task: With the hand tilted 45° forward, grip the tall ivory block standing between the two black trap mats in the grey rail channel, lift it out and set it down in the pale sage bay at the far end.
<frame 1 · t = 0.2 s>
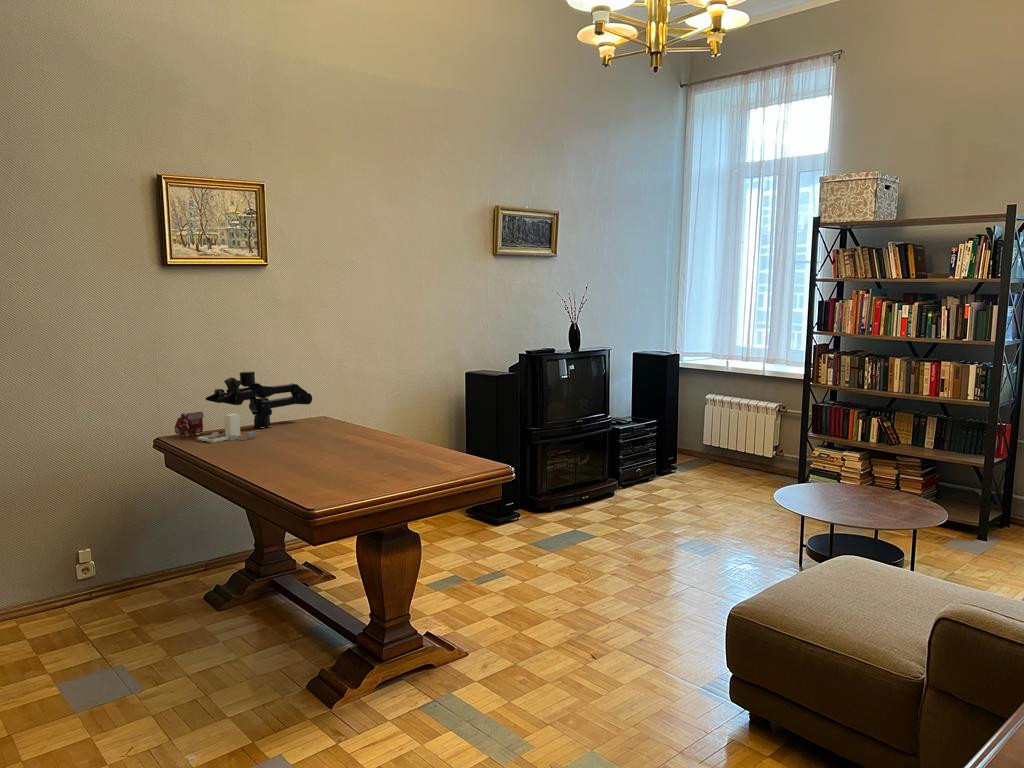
hand: (211, 399, 337), 17 cm above the table, tool horizontal, fingers open, 9 cm apart
toy fire truck: (190, 435, 342), on the table
ivory block: (233, 436, 335), on the table
channel: (232, 436, 335), on the table
sage bay: (213, 440, 328), on the table
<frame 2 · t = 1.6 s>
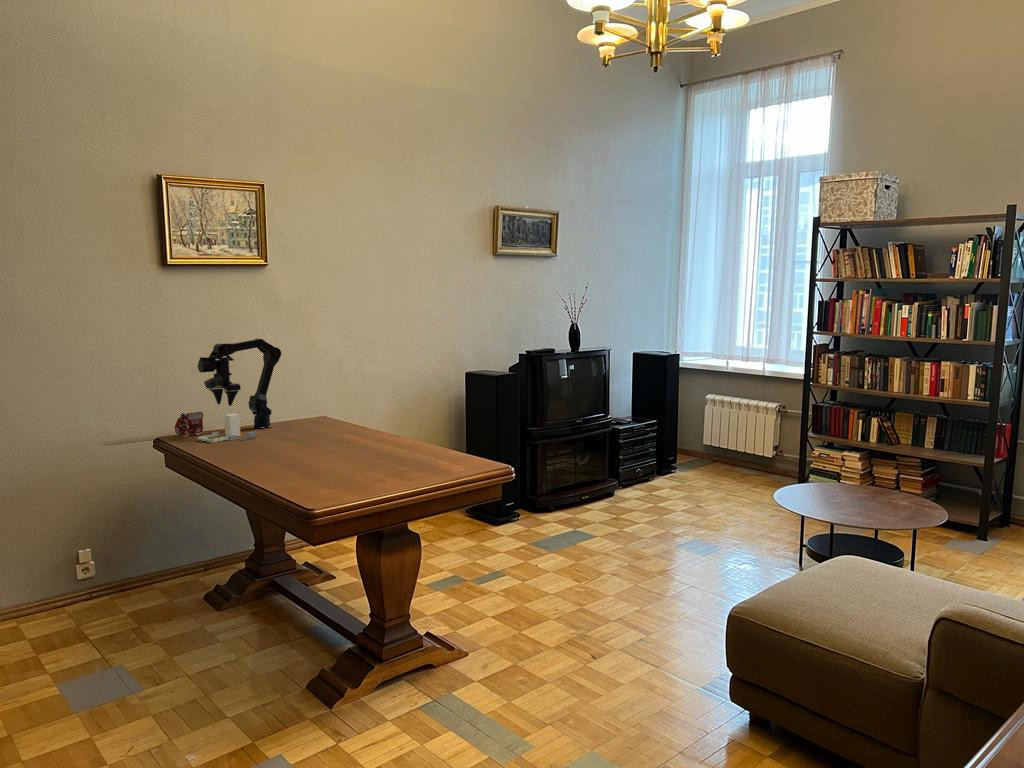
hand: (224, 404, 344), 13 cm above the table, tool pointing down, fingers open, 9 cm apart
nothing on the table moved.
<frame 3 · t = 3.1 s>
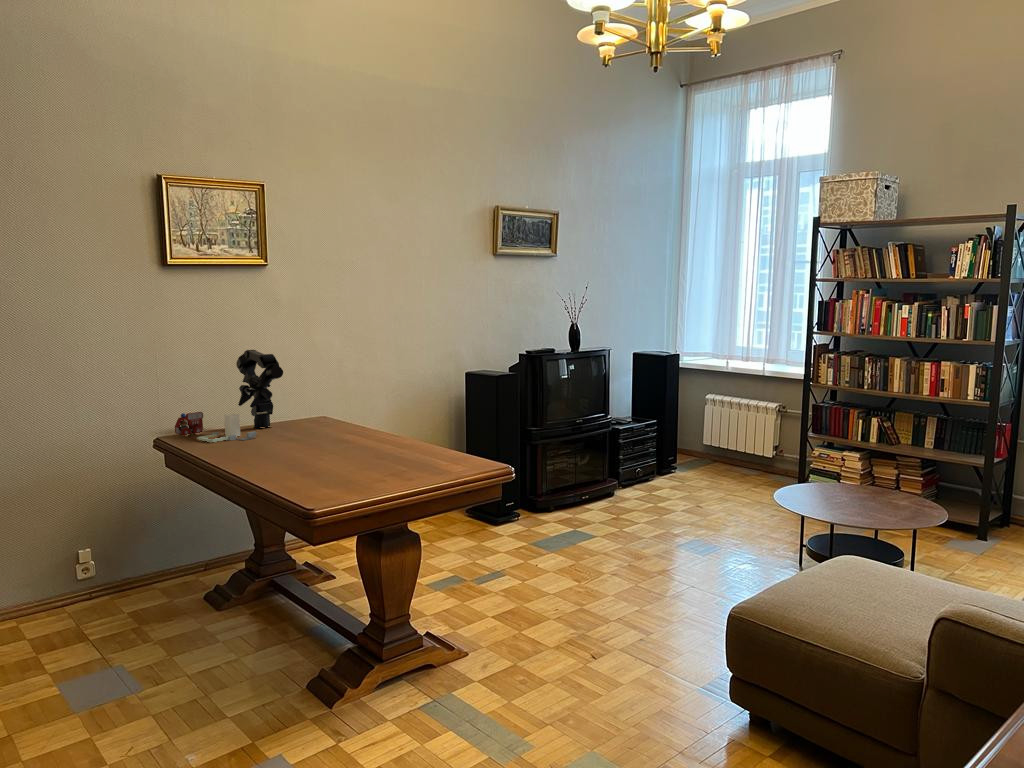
hand: (244, 406, 339), 13 cm above the table, tool tilted 45°, fingers open, 9 cm apart
nothing on the table moved.
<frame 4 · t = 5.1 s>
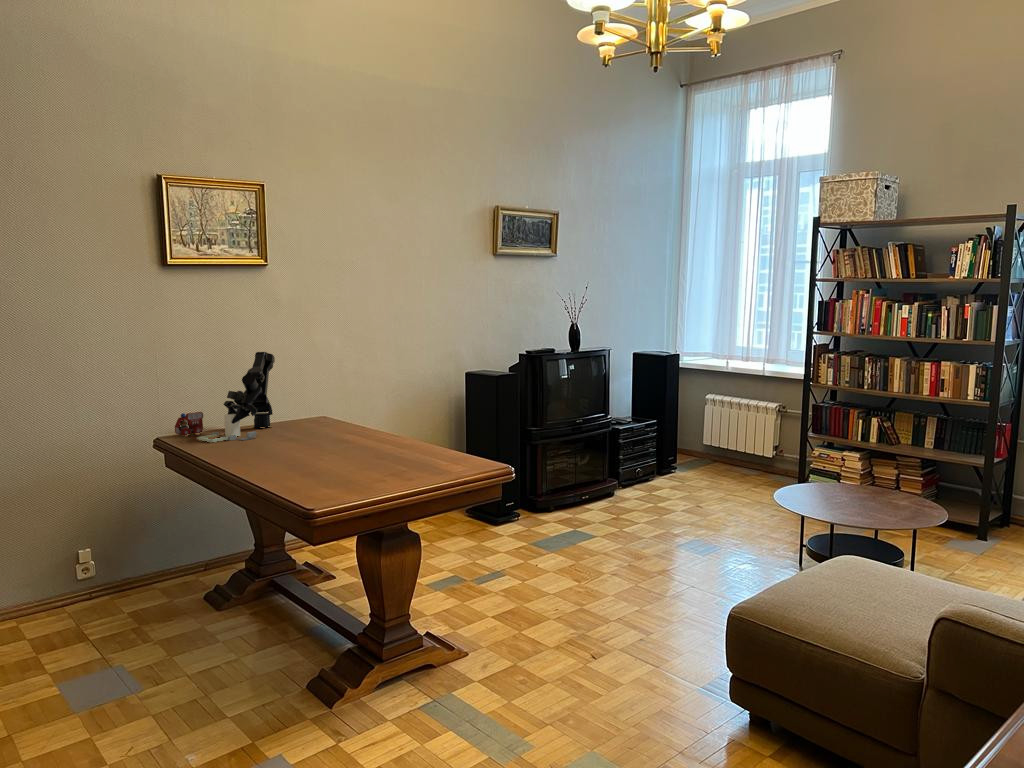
hand: (229, 422, 333), 7 cm above the table, tool tilted 45°, fingers closed on ivory block, 5 cm apart
ivory block: (232, 436, 335), on the table, touching gripper
everything else where it was.
when the fingers open (8 cm above the table, at t = 8.1 s): ivory block drops 1 cm, resting on sage bay.
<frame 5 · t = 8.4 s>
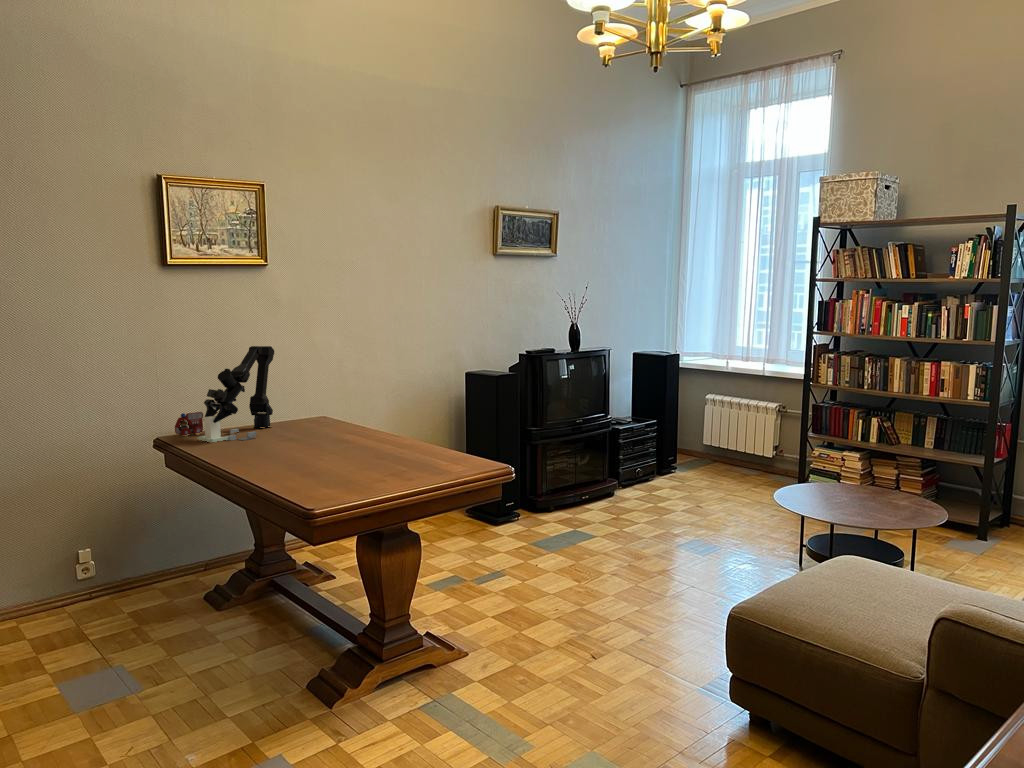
hand: (209, 421, 326), 8 cm above the table, tool tilted 45°, fingers open, 7 cm apart
ivory block: (213, 439, 328), resting on sage bay
everything else where it was.
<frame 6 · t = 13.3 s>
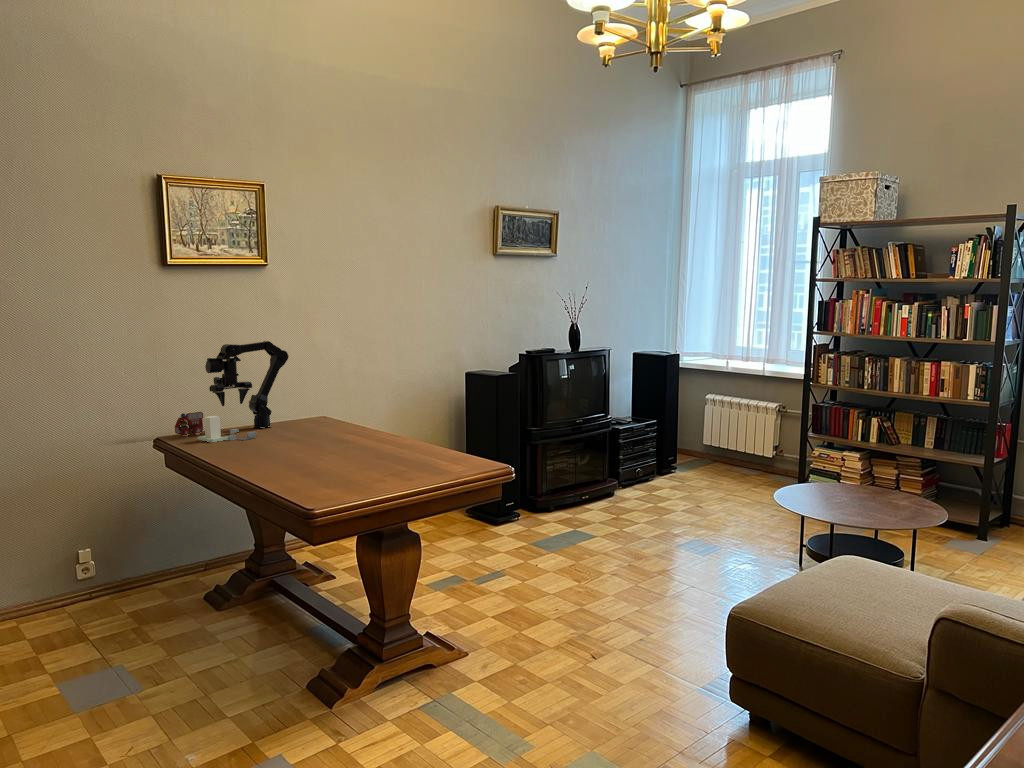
hand: (232, 405, 347), 13 cm above the table, tool pointing down, fingers open, 9 cm apart
nothing on the table moved.
at the end: ivory block inside the target area (0.0 cm from its centre), resting on sage bay; ivory block tilted 0°; the gripper is holding nothing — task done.
